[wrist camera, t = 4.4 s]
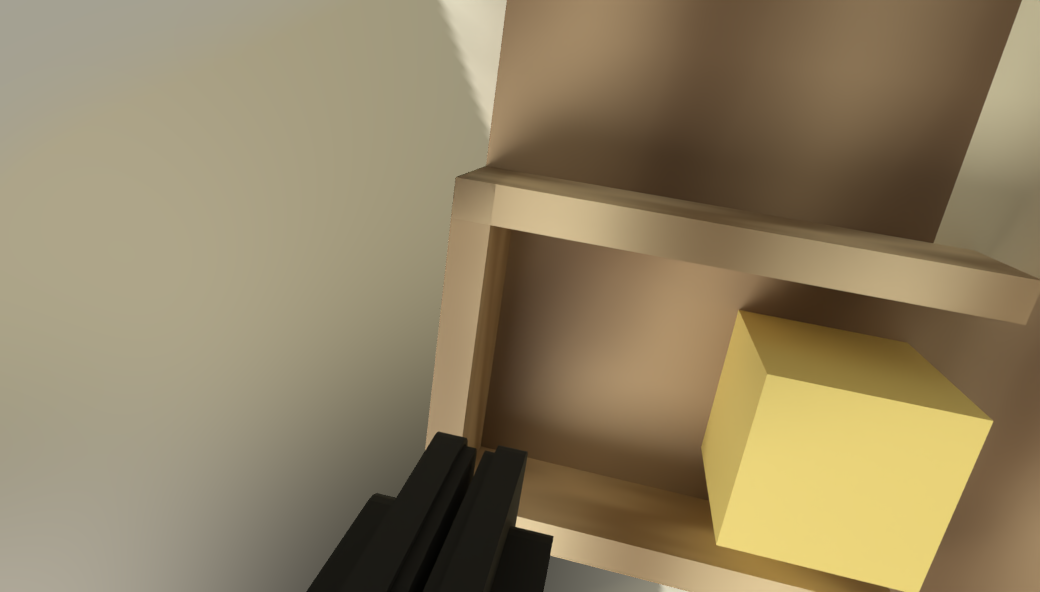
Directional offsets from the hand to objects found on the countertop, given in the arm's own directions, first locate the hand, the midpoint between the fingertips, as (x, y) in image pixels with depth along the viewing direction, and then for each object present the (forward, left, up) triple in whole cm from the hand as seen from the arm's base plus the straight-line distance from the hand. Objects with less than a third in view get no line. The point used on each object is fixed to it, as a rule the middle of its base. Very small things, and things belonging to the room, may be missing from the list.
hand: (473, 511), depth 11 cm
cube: (-7, 0, -8) cm, 11 cm away
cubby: (-4, 0, -8) cm, 9 cm away
